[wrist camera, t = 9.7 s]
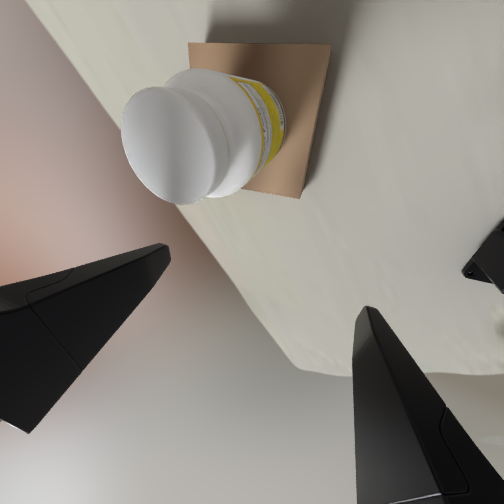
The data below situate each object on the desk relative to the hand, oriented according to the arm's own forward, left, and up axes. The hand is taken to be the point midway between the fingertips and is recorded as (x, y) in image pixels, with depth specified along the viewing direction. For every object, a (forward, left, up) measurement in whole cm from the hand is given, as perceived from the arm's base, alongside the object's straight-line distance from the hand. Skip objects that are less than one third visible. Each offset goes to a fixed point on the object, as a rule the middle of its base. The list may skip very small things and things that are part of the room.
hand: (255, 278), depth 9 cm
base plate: (+4, -5, -12) cm, 14 cm away
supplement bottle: (+4, -5, -10) cm, 12 cm away
